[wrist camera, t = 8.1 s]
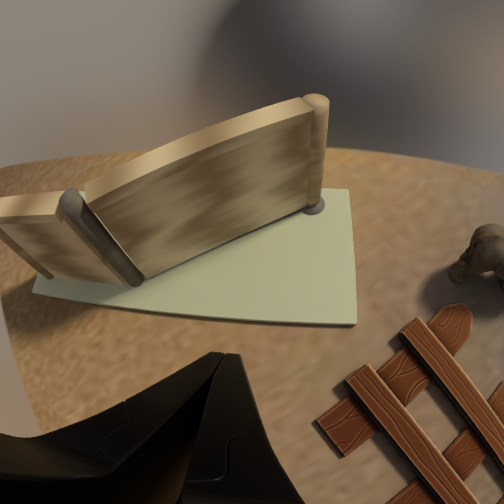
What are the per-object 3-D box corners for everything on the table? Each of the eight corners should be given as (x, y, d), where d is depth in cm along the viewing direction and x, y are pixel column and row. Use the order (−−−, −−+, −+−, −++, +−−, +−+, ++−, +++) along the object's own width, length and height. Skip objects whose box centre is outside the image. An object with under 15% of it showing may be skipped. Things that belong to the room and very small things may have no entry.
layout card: (33, 293, 26) (30, 291, 25) (74, 194, 32) (72, 191, 32) (355, 325, 22) (357, 323, 22) (347, 192, 28) (348, 188, 28)
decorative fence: (452, 579, 9) (559, 455, 13) (461, 585, 8) (571, 454, 11) (304, 410, 20) (442, 289, 23) (306, 409, 19) (450, 280, 22)
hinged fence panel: (148, 281, 25) (86, 204, 16) (142, 264, 26) (84, 184, 17) (324, 201, 27) (334, 104, 18) (313, 187, 28) (318, 91, 19)
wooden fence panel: (42, 278, 26) (-28, 215, 17) (48, 262, 27) (-19, 196, 18) (141, 290, 25) (70, 209, 15) (146, 270, 26) (82, 184, 16)
